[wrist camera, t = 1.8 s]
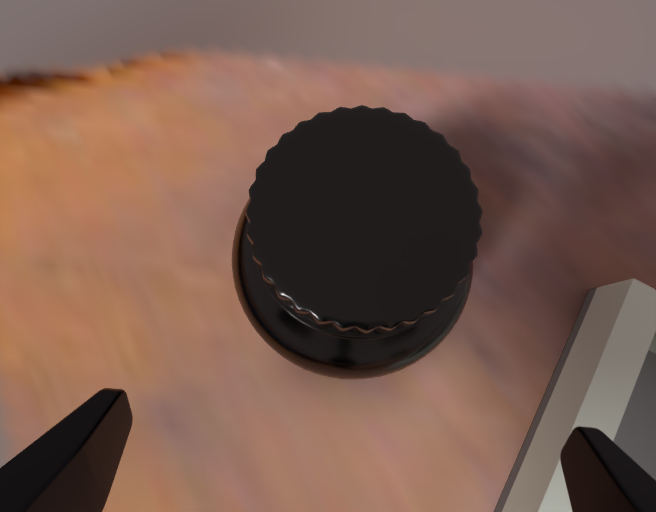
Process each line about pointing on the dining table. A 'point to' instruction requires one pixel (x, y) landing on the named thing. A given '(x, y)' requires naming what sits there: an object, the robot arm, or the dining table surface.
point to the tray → (593, 395)
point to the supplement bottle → (357, 243)
